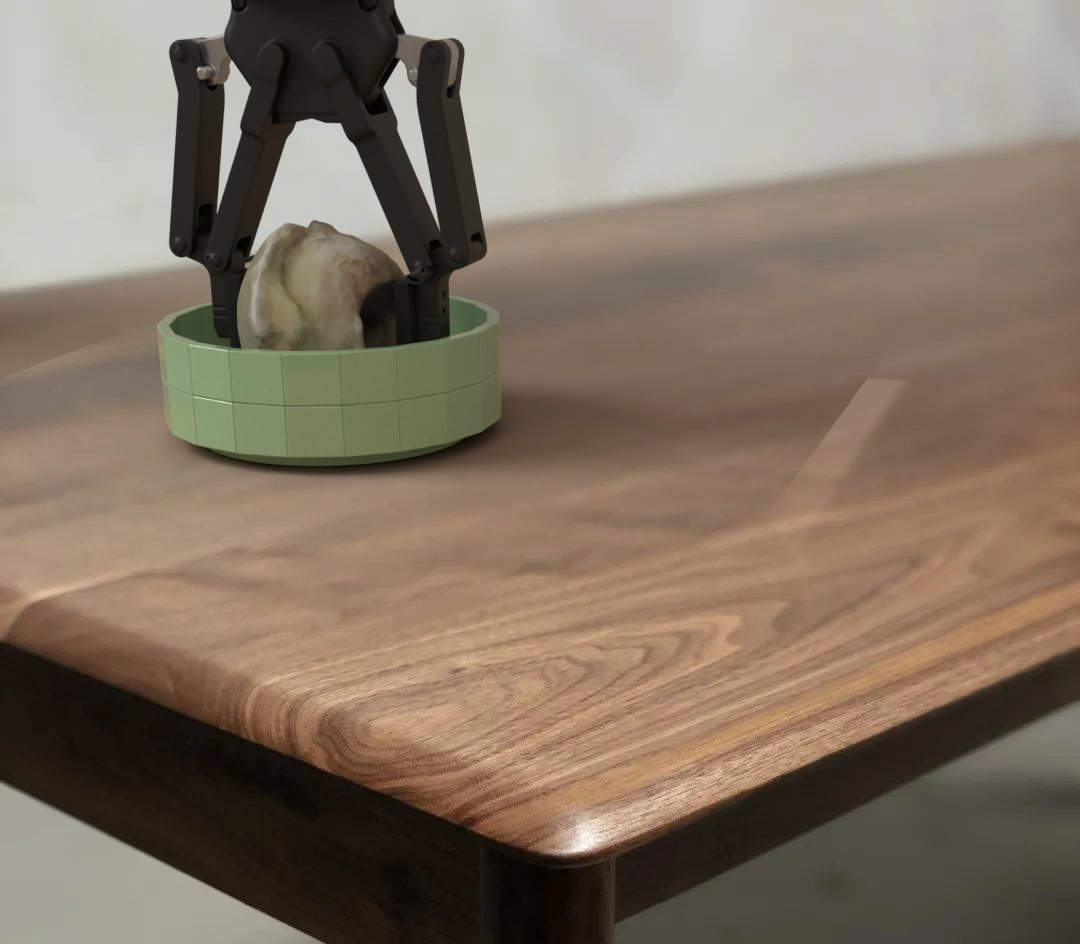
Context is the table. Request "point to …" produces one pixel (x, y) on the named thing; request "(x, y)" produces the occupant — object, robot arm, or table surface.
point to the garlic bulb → (317, 292)
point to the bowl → (330, 392)
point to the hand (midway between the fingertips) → (335, 409)
